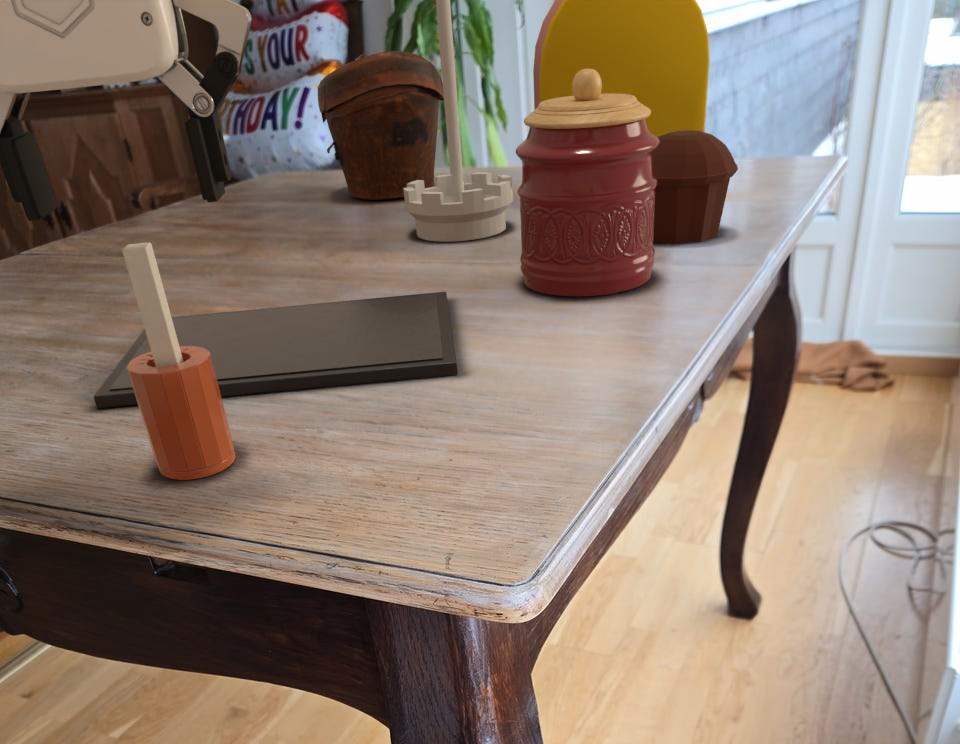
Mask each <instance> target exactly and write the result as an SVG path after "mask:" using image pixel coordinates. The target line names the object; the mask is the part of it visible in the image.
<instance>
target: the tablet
mask: <svg viewBox="0 0 960 744" xmlns="http://www.w3.org/2000/svg"><path fill="white" fill-rule="evenodd" d="M171 317H172V321H173V325H174V328H175V332H176V336H177V339H178V343H179V346H196V347H201V348H205V349H206V350H208V351H209V352H210V354H211V358H212V362H213V366H214V370H215V374H216V377H217V381H218V385H219V389H220V393H221V397H222V398H224V397H225V398H226V397H235V396H244V395H254V394H255V395H256V394H265V393H266V394H267V393H276V392H287V391H298V390H307V389H309V390H310V389H318V388H319V389H320V388H329V387H339V386H350V385H360V384H370V383H371V384H372V383H383V382H393V381H402V380H403V381H404V380H412V379H413V380H414V379H424V378H434V377H446V376H454V375H455V376H456V375H458V364H457V363H458V362H457V356H456V350H455V349H456V348H455V342H454V335H453V328H452V322H451V315H450V308H449V301H448V295H447V291H437V292H426V293H417V294H416V293H414V294H406V295H405V294H403V295H393V296H381V297H373V298H363V299H352V300H341V301H340V300H339V301H330V302H319V303H309V304H296V305H288V306H287V305H286V306H277V307H275V306H274V307H266V308H257V309H255V308H254V309H243V310H235V311H234V310H233V311H224V312H223V311H222V312H214V313H213V312H212V313H202V314H201V313H200V314H192V315H182V316H180V315H179V316H171ZM148 352H151V348H150V345H149V341H148V338H147V334H146V331H145V328H144V329H143V330H142V332H141V333H140V334H139V336H138V337H137V339H136V340H135V341H134V343H133V344H132V345H131V346H130V348H129V349H128V350H127V352H126V353H125V355H123V357H122V358H121V360H120V361H119V362H118V363H117V365H116V366H115V368H114V369H113V371H111V373H110V374H109V375H108V377H107V378H106V380H105V381H104V382H103V384H102V385H100V387H99V389H98V390H97V392H96V393H95V394H94V395H93V400H94V403H95V405H96V406H95V407H96V408H97V409H98V410H99V409H109V408H118V407H119V408H120V407H130V406H131V407H132V406H138V403H137V400H136V397H135V394H134V390H133V387H132V384H131V381H130V378H129V374H128V371H127V365H128V364H129V362H130V361H131V360H132V359H134V358H136V357H138V356H140V355H142V354H144V353H148Z"/></svg>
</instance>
